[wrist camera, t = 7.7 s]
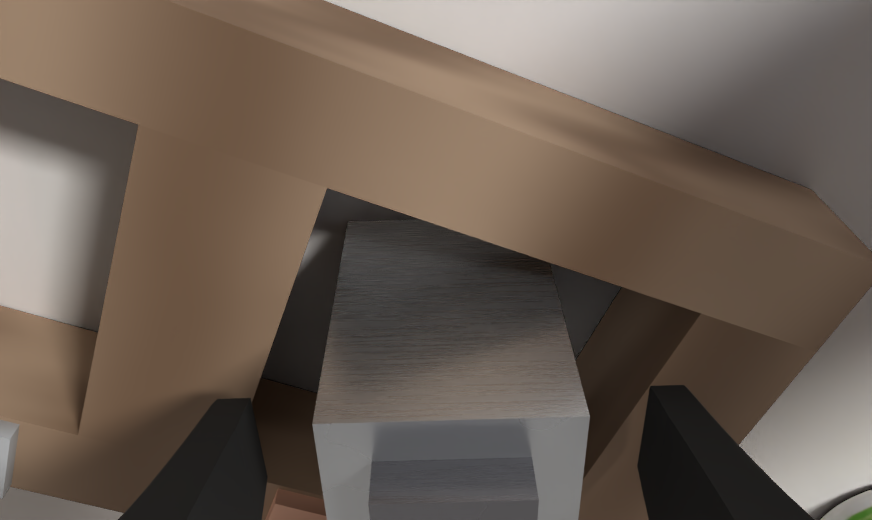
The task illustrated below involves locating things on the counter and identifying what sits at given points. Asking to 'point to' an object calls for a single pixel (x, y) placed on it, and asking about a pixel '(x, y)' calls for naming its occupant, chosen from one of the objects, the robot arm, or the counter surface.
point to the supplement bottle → (852, 508)
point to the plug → (447, 382)
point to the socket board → (397, 190)
